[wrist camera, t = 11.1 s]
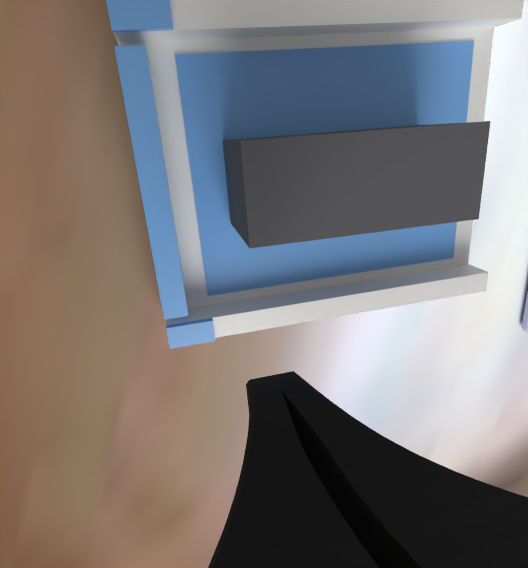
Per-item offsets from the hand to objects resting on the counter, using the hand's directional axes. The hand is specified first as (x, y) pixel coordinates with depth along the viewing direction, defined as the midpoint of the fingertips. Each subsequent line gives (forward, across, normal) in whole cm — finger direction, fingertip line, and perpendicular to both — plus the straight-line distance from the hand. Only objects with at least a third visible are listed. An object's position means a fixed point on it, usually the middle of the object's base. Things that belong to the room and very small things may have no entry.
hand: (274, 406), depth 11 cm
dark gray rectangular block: (+9, -5, -5) cm, 11 cm away
